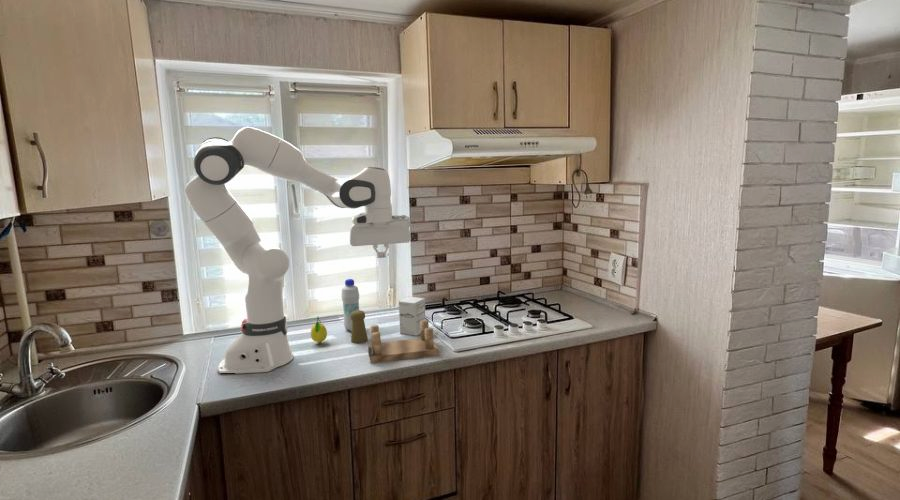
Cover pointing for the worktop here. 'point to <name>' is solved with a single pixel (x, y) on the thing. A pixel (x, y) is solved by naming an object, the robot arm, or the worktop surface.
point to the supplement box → (411, 315)
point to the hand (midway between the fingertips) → (381, 257)
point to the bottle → (349, 302)
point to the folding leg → (376, 343)
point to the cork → (358, 327)
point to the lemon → (318, 332)
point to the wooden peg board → (405, 346)
